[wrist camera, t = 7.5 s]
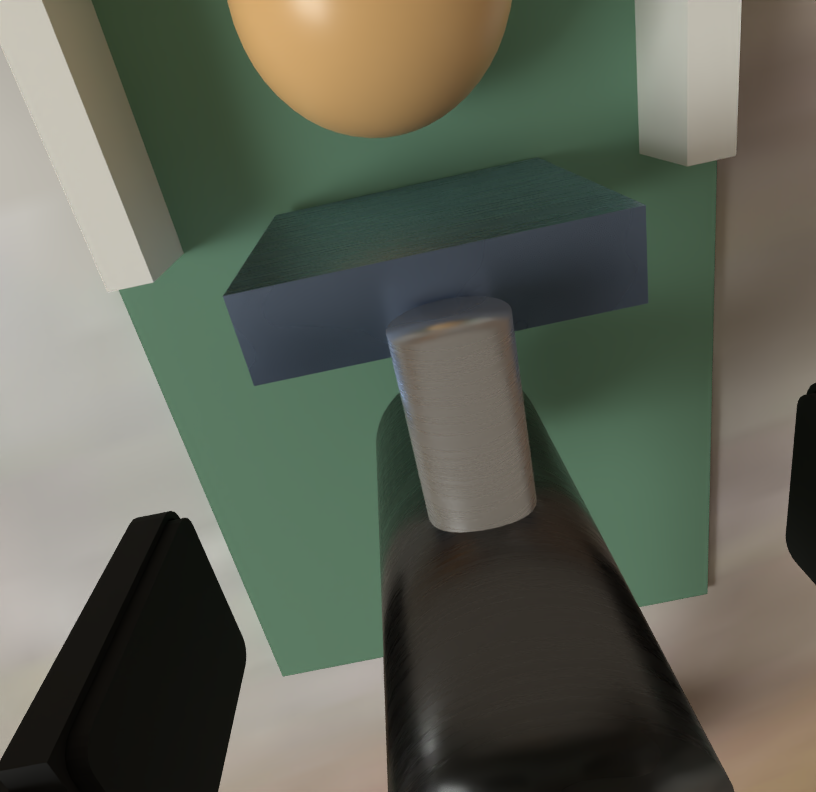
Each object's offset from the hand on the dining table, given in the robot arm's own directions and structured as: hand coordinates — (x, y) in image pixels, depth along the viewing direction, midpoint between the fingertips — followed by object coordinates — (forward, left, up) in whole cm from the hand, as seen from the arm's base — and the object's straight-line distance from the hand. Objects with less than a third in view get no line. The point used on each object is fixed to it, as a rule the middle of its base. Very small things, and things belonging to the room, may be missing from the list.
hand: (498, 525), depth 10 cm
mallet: (0, +5, -5) cm, 6 cm away
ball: (0, -8, -3) cm, 8 cm away
